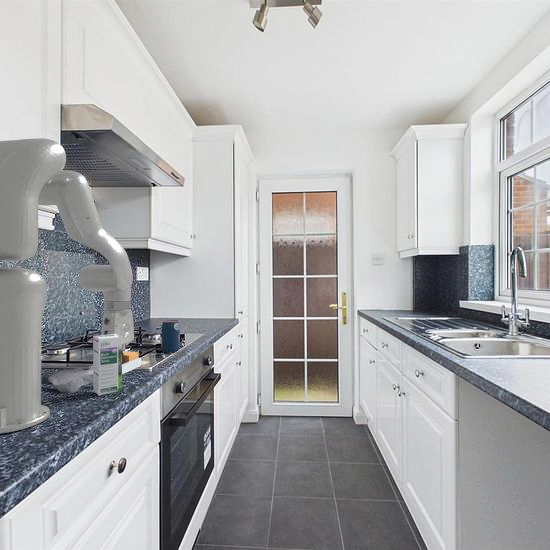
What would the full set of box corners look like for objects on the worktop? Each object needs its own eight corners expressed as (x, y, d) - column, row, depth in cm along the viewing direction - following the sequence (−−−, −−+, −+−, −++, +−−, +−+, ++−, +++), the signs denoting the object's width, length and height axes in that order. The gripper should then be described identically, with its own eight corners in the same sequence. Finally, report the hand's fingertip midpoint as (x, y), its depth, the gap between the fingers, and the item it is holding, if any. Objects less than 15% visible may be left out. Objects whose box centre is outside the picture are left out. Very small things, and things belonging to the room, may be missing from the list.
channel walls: (114, 380, 101) (114, 368, 101) (88, 378, 103) (88, 366, 103) (141, 368, 114) (141, 357, 114) (117, 367, 116) (117, 356, 116)
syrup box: (98, 396, 88) (98, 338, 88) (92, 390, 93) (93, 334, 93) (122, 391, 92) (122, 335, 92) (115, 385, 97) (116, 332, 96)
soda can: (183, 351, 139) (183, 321, 139) (167, 354, 134) (167, 322, 134) (173, 348, 144) (173, 319, 144) (157, 351, 139) (158, 321, 139)
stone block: (68, 401, 90) (104, 383, 99) (64, 383, 89) (100, 367, 98) (44, 394, 96) (79, 378, 105) (40, 378, 95) (76, 363, 104)
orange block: (128, 368, 110) (129, 355, 110) (114, 367, 111) (114, 354, 111) (138, 364, 115) (138, 352, 115) (124, 363, 116) (124, 351, 116)
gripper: (112, 309, 101) (111, 374, 101) (142, 304, 115) (142, 361, 115) (89, 308, 102) (88, 372, 102) (122, 304, 117) (121, 360, 117)
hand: (117, 366), depth 109 cm, fingers closed
